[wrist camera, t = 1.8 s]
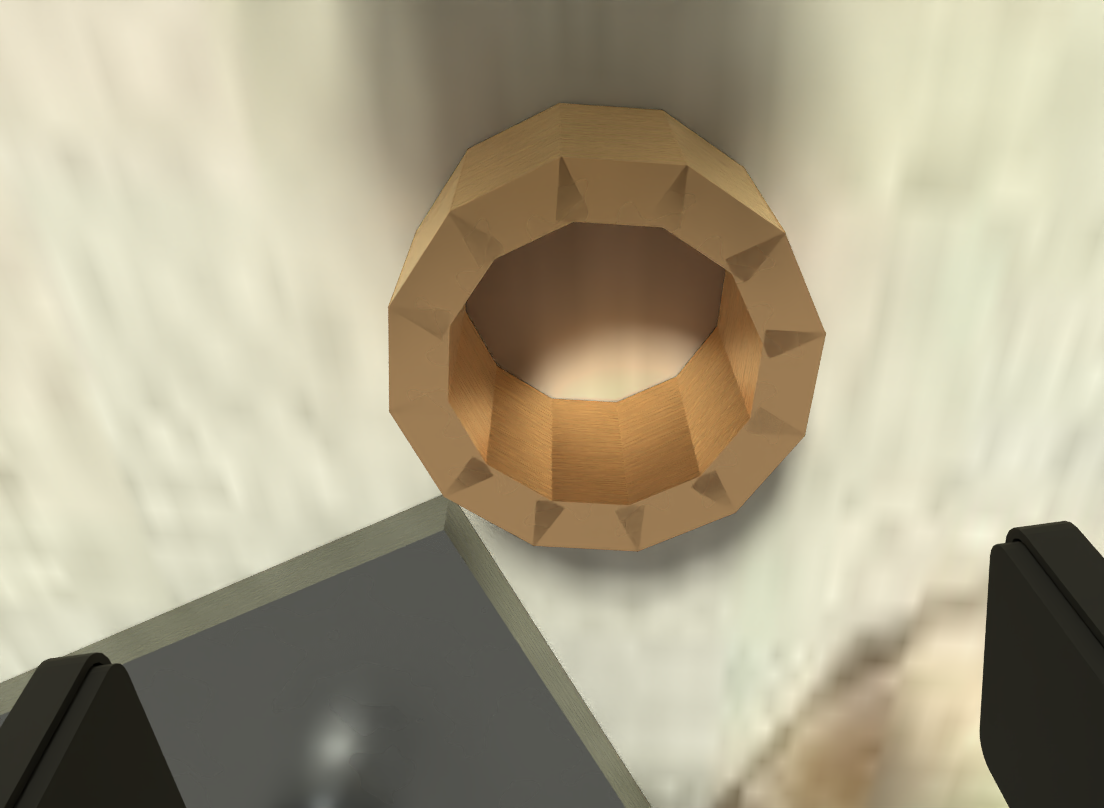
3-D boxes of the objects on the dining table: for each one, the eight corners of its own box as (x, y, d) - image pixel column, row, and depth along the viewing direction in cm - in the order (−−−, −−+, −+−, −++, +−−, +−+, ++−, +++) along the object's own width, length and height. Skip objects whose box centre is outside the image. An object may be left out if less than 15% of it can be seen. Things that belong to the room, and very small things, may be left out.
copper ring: (690, 36, 19) (723, 76, 15) (822, 360, 22) (876, 457, 18) (348, 208, 20) (305, 282, 16) (517, 488, 23) (511, 602, 20)
